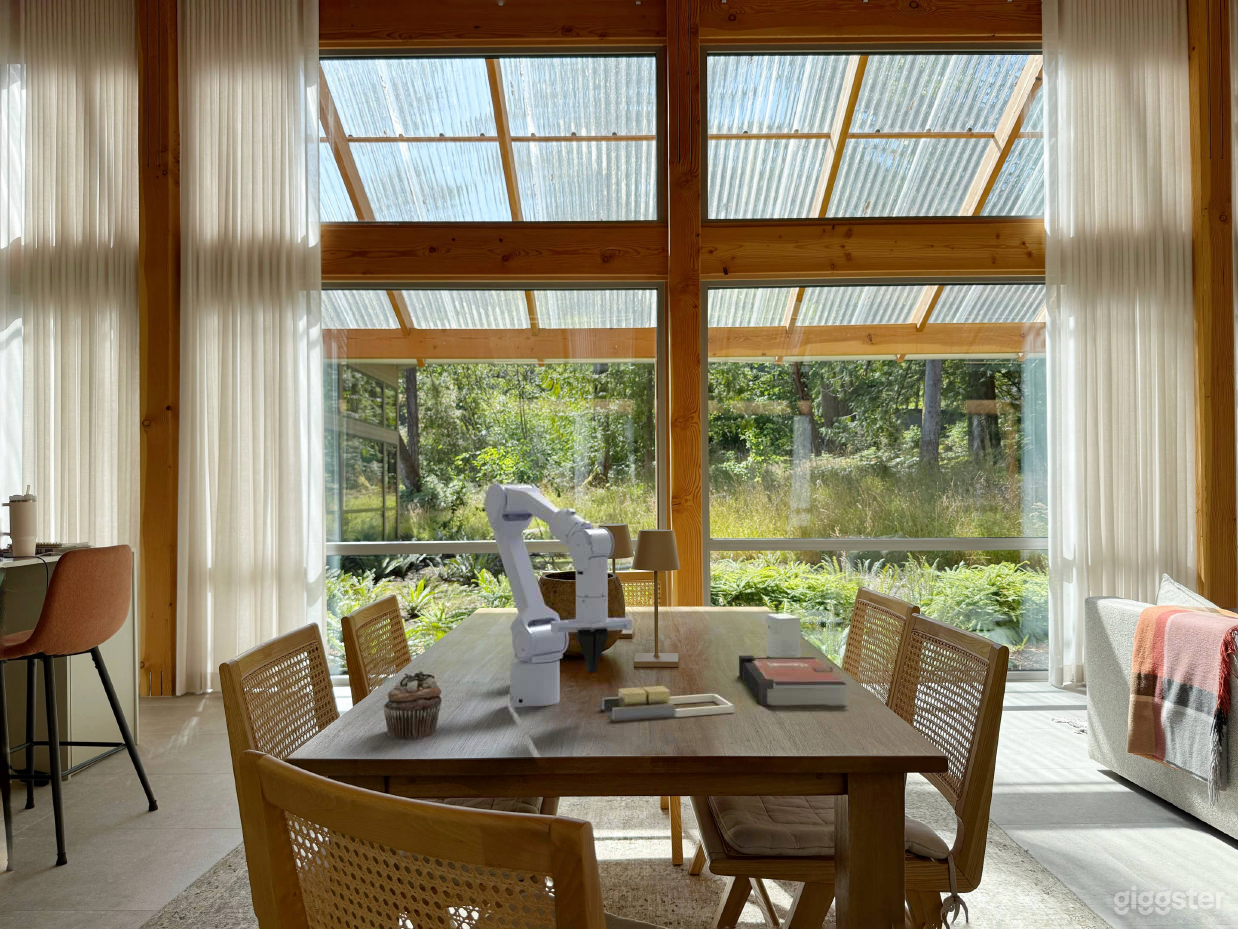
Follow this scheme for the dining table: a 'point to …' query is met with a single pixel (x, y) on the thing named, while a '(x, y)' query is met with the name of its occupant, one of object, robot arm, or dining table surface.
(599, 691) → the dining table surface
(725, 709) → the tray
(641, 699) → the brass chip
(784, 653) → the small box
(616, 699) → the rail
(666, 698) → the brass chip
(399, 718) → the cupcake
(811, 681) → the book
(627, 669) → the dining table surface
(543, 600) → the robot arm
